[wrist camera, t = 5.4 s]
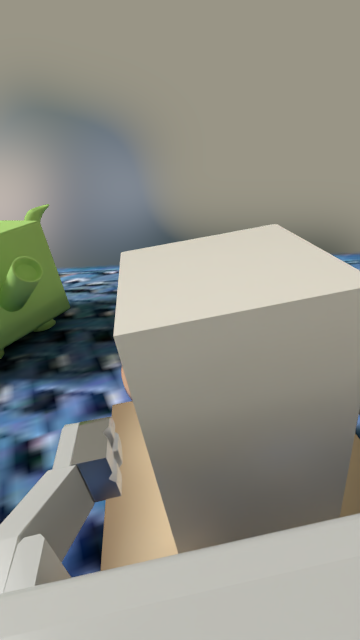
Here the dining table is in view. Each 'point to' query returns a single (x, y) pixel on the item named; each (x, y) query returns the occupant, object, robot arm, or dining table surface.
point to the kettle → (27, 280)
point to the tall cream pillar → (242, 379)
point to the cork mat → (147, 506)
